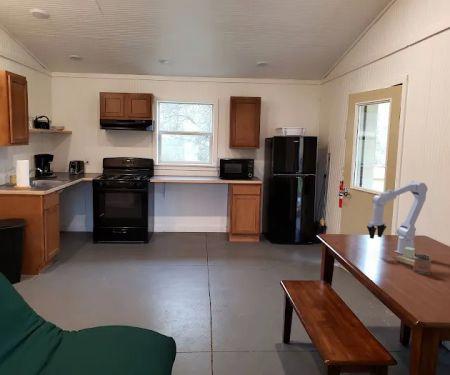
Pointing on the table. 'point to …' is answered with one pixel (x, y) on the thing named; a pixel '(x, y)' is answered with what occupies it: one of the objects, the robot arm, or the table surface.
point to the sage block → (409, 252)
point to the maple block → (405, 260)
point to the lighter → (422, 264)
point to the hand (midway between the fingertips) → (375, 237)
